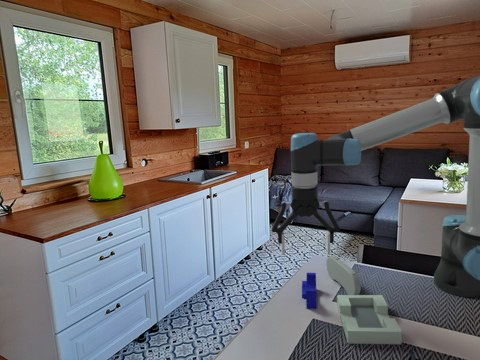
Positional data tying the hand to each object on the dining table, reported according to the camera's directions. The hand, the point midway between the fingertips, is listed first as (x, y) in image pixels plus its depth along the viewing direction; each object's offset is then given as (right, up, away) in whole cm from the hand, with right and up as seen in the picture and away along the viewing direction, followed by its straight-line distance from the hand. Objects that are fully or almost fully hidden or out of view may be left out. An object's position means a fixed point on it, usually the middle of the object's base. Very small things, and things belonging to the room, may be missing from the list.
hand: (305, 253), depth 109 cm
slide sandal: (+14, -13, +9) cm, 21 cm away
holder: (+15, -17, -12) cm, 25 cm away
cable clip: (+2, -15, +3) cm, 16 cm away
